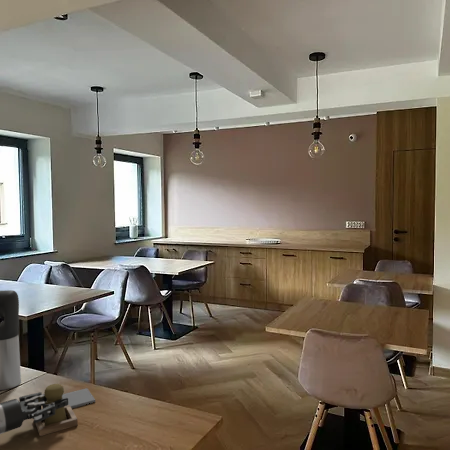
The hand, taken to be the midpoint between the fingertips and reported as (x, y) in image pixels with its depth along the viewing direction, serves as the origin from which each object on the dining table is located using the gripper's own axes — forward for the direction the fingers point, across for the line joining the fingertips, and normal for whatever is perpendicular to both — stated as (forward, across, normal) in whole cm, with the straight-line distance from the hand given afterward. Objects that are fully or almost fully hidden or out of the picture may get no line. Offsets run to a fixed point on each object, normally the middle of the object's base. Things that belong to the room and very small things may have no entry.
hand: (63, 397), depth 124 cm
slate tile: (+7, +9, +7) cm, 14 cm away
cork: (-3, 0, +7) cm, 7 cm away
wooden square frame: (-3, 0, +7) cm, 7 cm away
